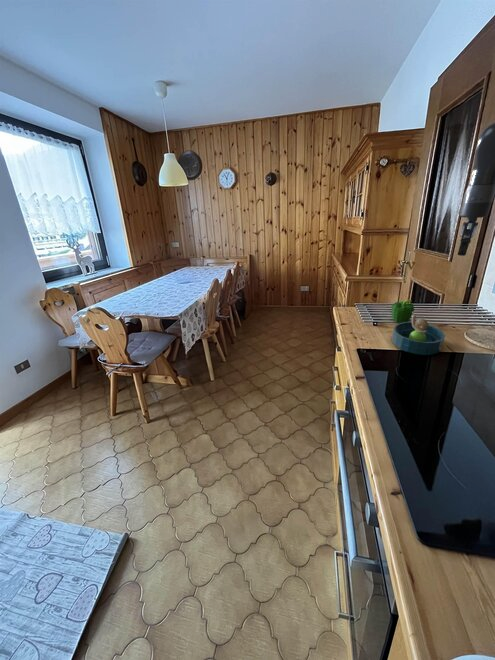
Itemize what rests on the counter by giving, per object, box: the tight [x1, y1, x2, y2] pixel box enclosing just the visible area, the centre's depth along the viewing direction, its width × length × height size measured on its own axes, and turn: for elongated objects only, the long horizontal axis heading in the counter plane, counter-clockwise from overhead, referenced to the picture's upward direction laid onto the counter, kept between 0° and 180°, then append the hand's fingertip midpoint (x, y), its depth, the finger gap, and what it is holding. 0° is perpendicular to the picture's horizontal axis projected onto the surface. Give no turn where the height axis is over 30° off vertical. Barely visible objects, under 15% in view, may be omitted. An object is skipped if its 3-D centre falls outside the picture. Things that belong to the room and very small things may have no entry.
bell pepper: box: [391, 299, 415, 324], centre depth 121 cm, size 8×8×10 cm
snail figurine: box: [409, 310, 429, 342], centre depth 103 cm, size 5×6×12 cm
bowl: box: [391, 321, 446, 356], centre depth 105 cm, size 16×16×6 cm
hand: (462, 252), depth 96 cm, fingers open, 8 cm apart
